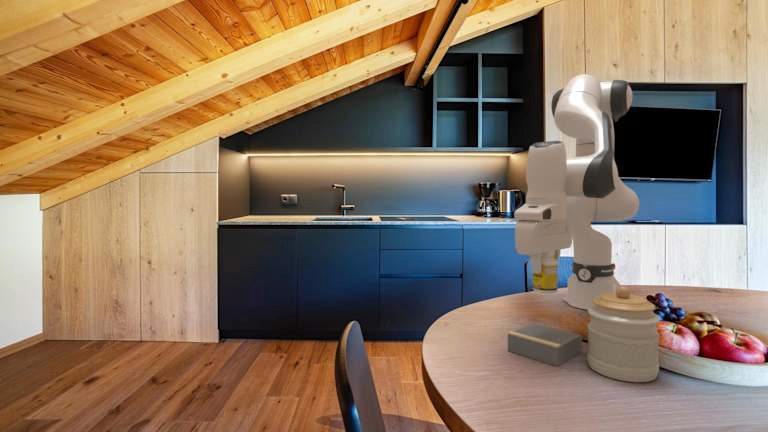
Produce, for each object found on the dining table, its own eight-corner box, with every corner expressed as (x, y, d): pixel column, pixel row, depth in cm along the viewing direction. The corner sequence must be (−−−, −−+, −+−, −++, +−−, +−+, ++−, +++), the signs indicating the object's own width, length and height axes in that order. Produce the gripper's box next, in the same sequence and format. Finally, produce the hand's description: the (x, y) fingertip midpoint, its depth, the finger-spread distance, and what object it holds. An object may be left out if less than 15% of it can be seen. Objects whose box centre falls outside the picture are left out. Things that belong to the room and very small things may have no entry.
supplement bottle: (528, 288, 97) (529, 247, 97) (550, 288, 98) (551, 247, 97) (538, 294, 92) (539, 251, 91) (562, 293, 92) (562, 250, 92)
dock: (533, 338, 104) (533, 321, 103) (581, 351, 95) (582, 333, 94) (507, 350, 96) (507, 332, 96) (557, 366, 87) (557, 346, 87)
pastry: (600, 346, 99) (600, 331, 98) (571, 339, 103) (571, 325, 103) (613, 337, 105) (613, 322, 105) (585, 331, 110) (585, 317, 110)
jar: (616, 354, 93) (618, 278, 92) (674, 377, 81) (676, 290, 80) (573, 362, 89) (574, 282, 88) (627, 388, 77) (628, 296, 76)
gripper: (554, 209, 103) (553, 263, 104) (509, 212, 89) (509, 274, 90) (579, 210, 98) (578, 266, 99) (536, 213, 85) (536, 278, 85)
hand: (545, 270), depth 94 cm, fingers closed on supplement bottle, 5 cm apart
